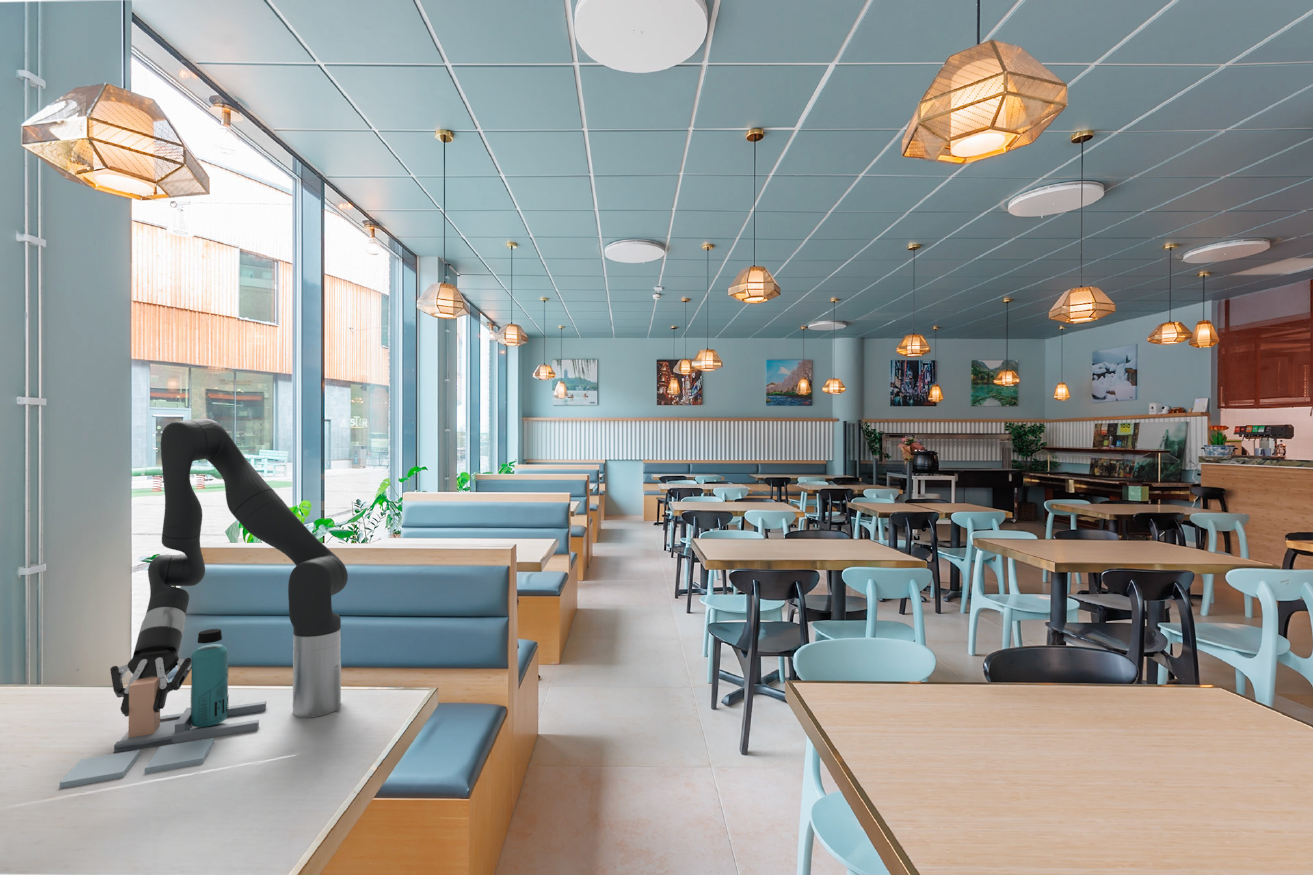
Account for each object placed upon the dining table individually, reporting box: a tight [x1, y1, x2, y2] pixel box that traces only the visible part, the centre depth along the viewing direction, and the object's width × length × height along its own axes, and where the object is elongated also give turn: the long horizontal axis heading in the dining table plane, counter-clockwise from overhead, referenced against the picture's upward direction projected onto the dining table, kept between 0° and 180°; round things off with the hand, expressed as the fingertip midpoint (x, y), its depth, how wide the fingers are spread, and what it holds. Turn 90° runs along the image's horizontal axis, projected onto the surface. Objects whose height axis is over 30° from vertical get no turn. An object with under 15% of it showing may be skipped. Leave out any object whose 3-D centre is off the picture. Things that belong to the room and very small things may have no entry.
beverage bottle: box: [189, 628, 230, 728], centre depth 130 cm, size 6×7×20 cm
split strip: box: [59, 737, 215, 789], centre depth 114 cm, size 20×9×1 cm, turn 115°
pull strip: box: [113, 677, 267, 754], centre depth 129 cm, size 23×12×11 cm, turn 115°
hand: (141, 712), depth 123 cm, fingers closed on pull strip, 4 cm apart
